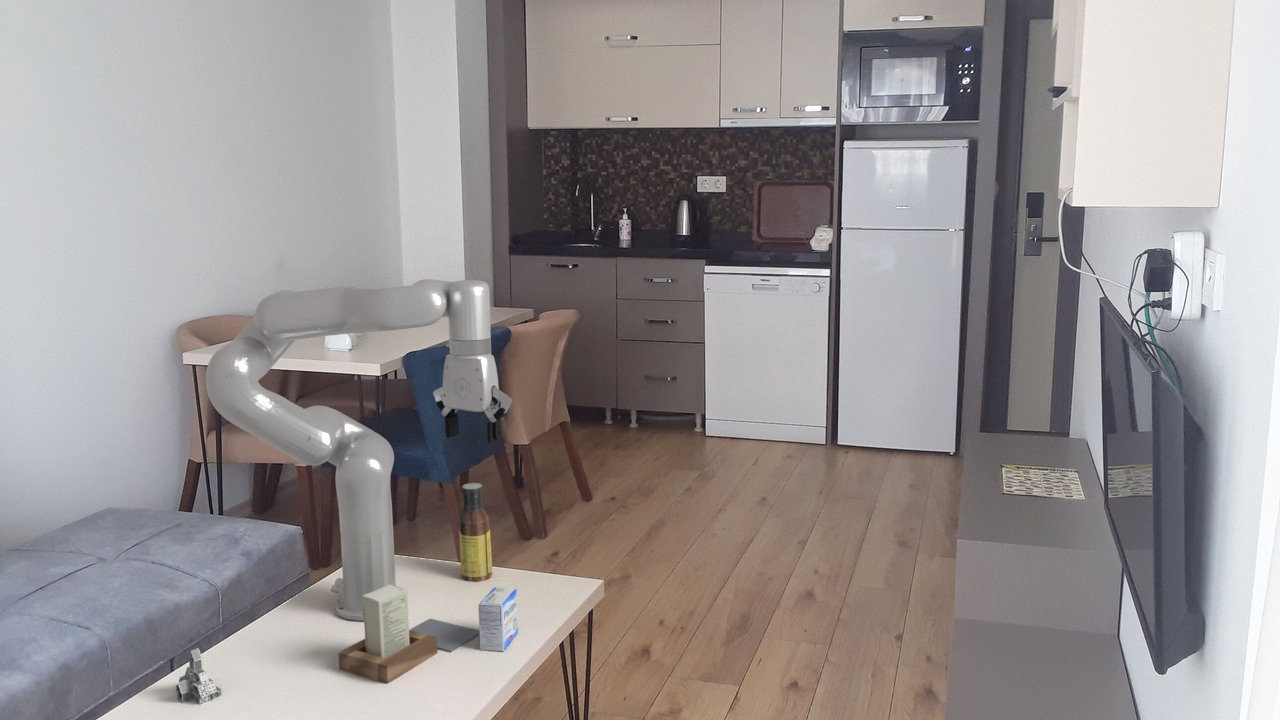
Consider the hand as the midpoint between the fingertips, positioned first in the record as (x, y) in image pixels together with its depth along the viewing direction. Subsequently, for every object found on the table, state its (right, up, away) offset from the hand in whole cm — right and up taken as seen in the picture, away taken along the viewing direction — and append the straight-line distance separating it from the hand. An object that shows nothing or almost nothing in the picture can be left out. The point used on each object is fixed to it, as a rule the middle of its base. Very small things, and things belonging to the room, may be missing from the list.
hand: (473, 438), depth 195 cm
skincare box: (-11, -36, -19) cm, 42 cm away
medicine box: (+6, -35, -12) cm, 37 cm away
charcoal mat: (-4, -34, -9) cm, 36 cm away
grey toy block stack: (-41, -39, -31) cm, 64 cm away
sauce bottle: (-2, -30, +18) cm, 35 cm away
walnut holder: (-11, -36, -19) cm, 42 cm away
